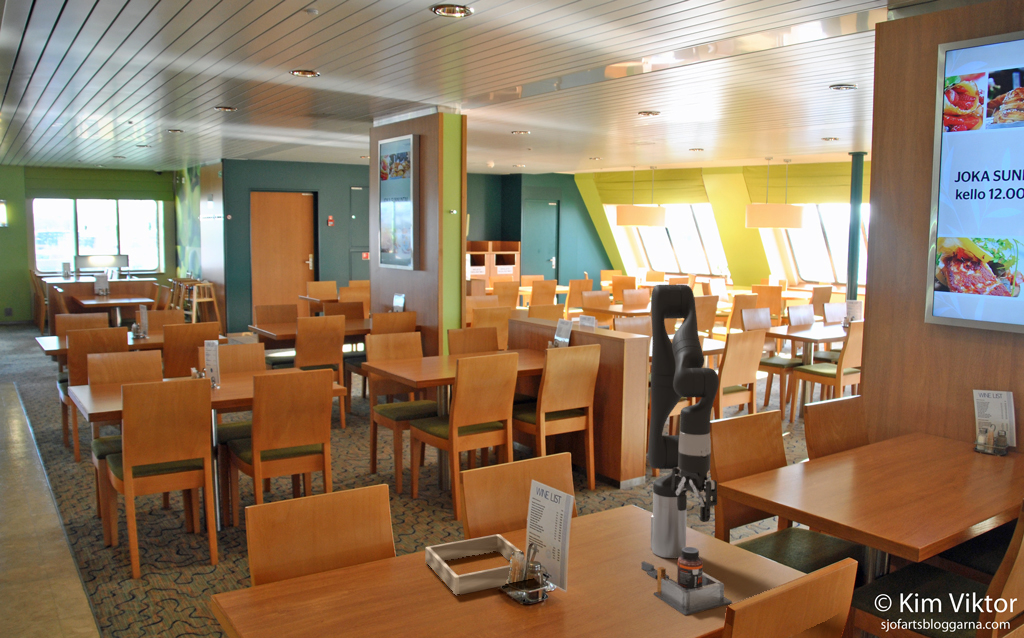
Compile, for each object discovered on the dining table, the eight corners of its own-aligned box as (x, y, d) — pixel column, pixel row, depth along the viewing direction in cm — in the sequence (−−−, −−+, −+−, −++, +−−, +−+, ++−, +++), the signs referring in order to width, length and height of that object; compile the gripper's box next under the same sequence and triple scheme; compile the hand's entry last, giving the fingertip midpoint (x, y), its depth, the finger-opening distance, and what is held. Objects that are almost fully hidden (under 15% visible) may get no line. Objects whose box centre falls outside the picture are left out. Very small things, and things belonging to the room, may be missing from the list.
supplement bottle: (702, 601, 181) (703, 555, 180) (677, 599, 183) (677, 553, 182) (701, 590, 187) (702, 546, 186) (676, 588, 188) (677, 544, 187)
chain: (639, 568, 202) (639, 562, 201) (646, 567, 203) (646, 560, 202) (672, 589, 189) (672, 582, 189) (679, 587, 190) (679, 581, 190)
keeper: (653, 594, 186) (653, 568, 186) (698, 583, 192) (698, 558, 192) (684, 615, 175) (685, 588, 175) (731, 603, 181) (732, 576, 181)
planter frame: (425, 563, 206) (425, 547, 205) (499, 549, 215) (499, 534, 215) (455, 595, 186) (455, 577, 186) (534, 578, 195) (534, 561, 195)
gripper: (663, 445, 187) (662, 509, 188) (701, 459, 174) (700, 527, 176) (688, 441, 190) (686, 504, 192) (726, 455, 177) (725, 522, 179)
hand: (693, 515), depth 184 cm, fingers open, 8 cm apart
